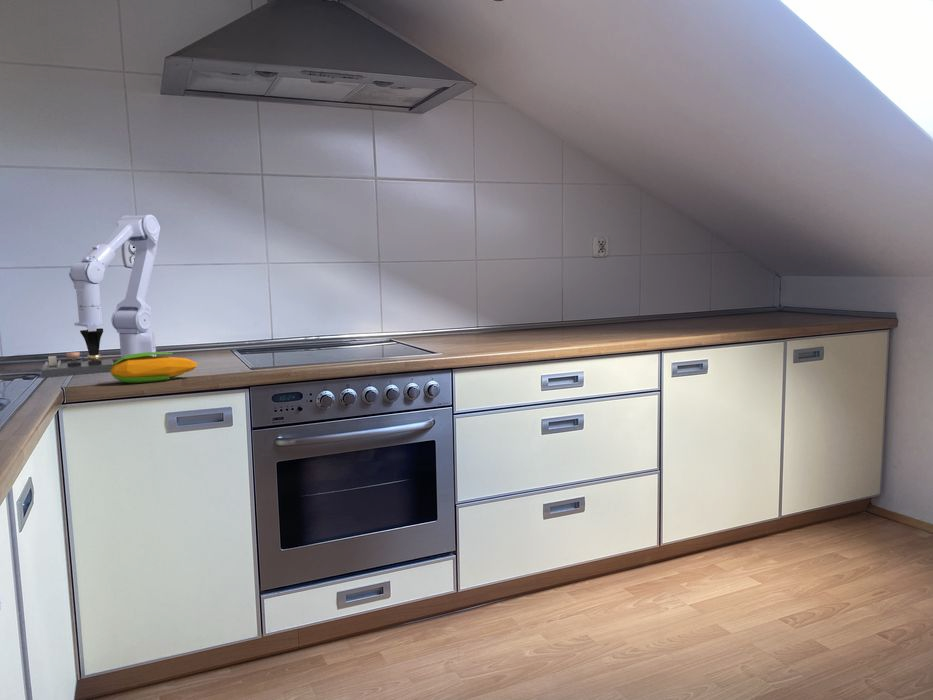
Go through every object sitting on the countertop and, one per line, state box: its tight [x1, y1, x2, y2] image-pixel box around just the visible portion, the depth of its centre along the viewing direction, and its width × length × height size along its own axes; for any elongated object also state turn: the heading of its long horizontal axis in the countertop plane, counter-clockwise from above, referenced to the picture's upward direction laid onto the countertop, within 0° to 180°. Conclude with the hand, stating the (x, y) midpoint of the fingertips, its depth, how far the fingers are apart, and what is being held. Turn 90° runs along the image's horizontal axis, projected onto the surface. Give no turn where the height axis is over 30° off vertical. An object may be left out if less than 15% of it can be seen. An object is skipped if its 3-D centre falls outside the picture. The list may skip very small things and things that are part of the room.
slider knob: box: [48, 355, 58, 365], centre depth 189 cm, size 2×2×2 cm
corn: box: [110, 351, 198, 384], centre depth 174 cm, size 7×8×20 cm
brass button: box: [87, 353, 102, 361], centre depth 192 cm, size 3×3×2 cm
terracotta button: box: [65, 351, 81, 361], centre depth 189 cm, size 3×3×2 cm
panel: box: [41, 358, 115, 379], centre depth 190 cm, size 17×11×3 cm, turn 119°
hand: (94, 355), depth 192 cm, fingers closed, pressing on brass button
